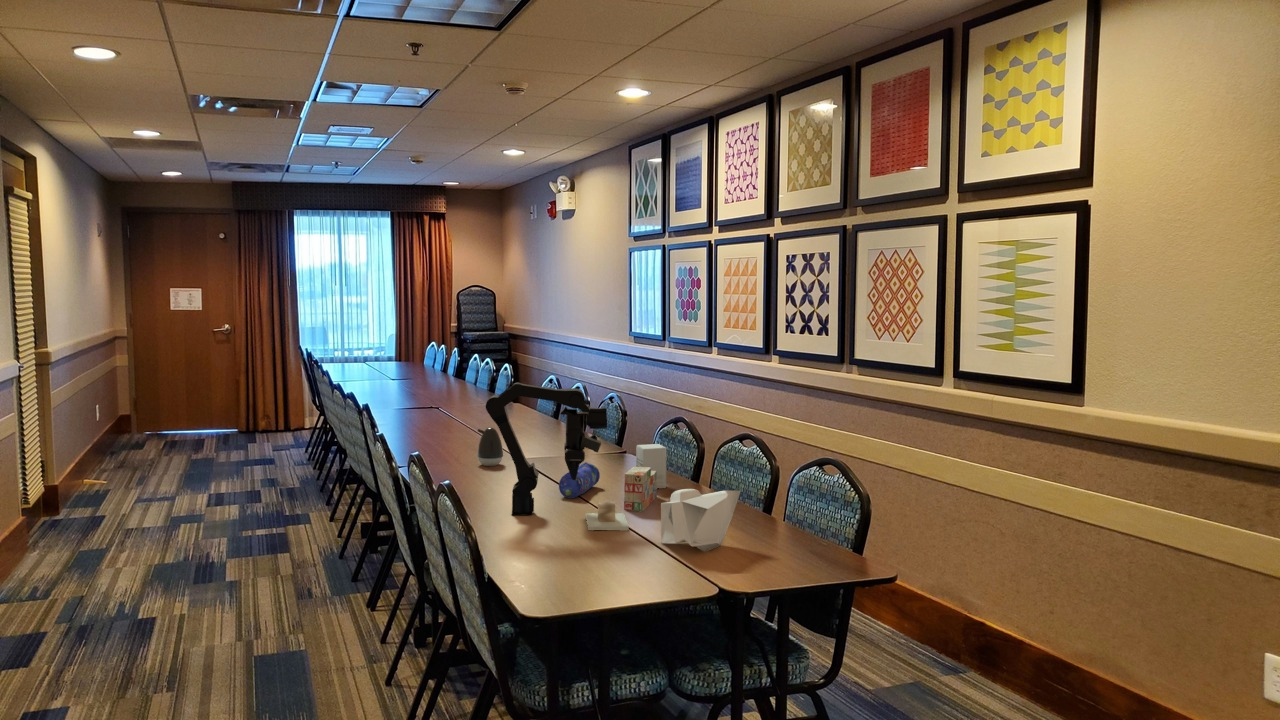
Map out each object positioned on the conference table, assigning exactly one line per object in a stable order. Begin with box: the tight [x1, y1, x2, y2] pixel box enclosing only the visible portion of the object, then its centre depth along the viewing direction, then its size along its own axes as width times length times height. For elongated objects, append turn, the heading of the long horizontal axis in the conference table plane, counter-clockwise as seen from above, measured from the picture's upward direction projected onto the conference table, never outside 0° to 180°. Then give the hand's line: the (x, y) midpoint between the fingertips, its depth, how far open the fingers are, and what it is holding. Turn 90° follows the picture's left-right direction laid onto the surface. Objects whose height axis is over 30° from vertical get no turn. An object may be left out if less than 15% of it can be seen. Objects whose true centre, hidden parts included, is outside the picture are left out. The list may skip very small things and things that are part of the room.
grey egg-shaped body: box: [477, 427, 504, 467], centre depth 369 cm, size 10×10×15 cm
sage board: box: [585, 512, 629, 531], centre depth 283 cm, size 12×16×1 cm
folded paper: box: [660, 488, 742, 553], centre depth 260 cm, size 17×24×17 cm
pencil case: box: [558, 462, 601, 499], centre depth 324 cm, size 22×9×10 cm, turn 164°
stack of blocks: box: [623, 466, 658, 512], centre depth 310 cm, size 21×6×12 cm, turn 166°
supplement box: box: [635, 443, 667, 489], centre depth 335 cm, size 9×9×15 cm
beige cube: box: [597, 501, 616, 522], centre depth 283 cm, size 5×5×5 cm
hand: (573, 476), depth 294 cm, fingers open, 9 cm apart
